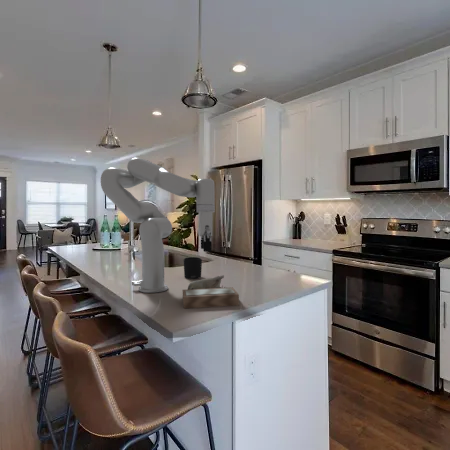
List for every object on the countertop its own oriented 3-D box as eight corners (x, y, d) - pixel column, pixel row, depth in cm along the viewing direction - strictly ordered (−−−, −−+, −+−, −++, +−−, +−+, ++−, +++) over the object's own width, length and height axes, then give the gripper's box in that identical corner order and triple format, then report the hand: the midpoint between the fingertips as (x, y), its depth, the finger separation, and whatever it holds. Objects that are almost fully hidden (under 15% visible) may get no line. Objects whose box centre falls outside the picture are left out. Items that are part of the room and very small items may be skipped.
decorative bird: (186, 294, 130) (186, 276, 130) (222, 290, 136) (222, 273, 136) (189, 297, 125) (189, 279, 125) (226, 293, 131) (226, 276, 131)
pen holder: (180, 278, 161) (180, 259, 160) (190, 275, 169) (190, 256, 169) (195, 280, 157) (195, 260, 156) (205, 276, 165) (205, 257, 164)
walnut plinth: (183, 308, 111) (183, 296, 111) (182, 299, 122) (182, 289, 122) (238, 305, 114) (238, 294, 114) (232, 297, 125) (232, 286, 125)
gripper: (194, 209, 137) (195, 248, 138) (198, 208, 120) (199, 253, 121) (211, 209, 139) (212, 247, 139) (217, 208, 122) (218, 252, 122)
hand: (206, 250), depth 130 cm, fingers open, 9 cm apart
